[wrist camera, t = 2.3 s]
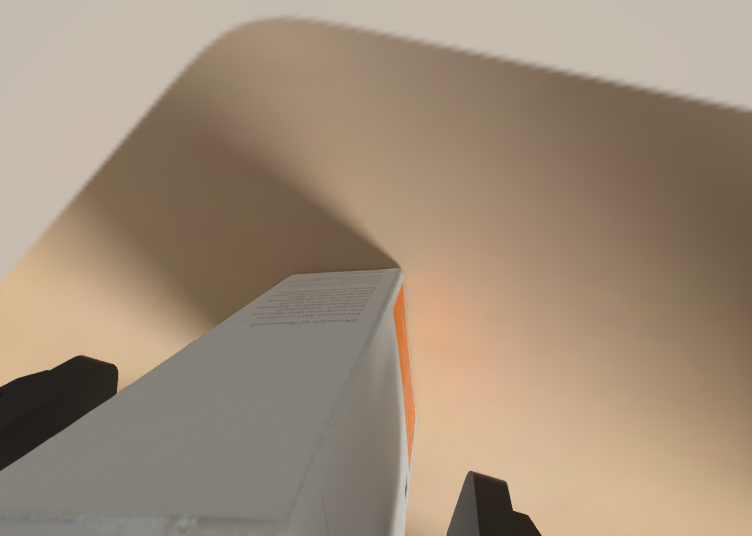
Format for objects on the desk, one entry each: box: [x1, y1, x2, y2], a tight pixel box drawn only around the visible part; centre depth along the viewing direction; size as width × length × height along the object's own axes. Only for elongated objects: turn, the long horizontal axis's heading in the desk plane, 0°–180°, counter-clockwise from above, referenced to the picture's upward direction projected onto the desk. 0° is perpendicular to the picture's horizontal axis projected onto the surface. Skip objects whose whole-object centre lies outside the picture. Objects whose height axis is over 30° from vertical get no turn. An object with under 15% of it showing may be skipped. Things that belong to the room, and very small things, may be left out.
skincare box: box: [0, 268, 417, 536], centre depth 11 cm, size 6×4×12 cm
